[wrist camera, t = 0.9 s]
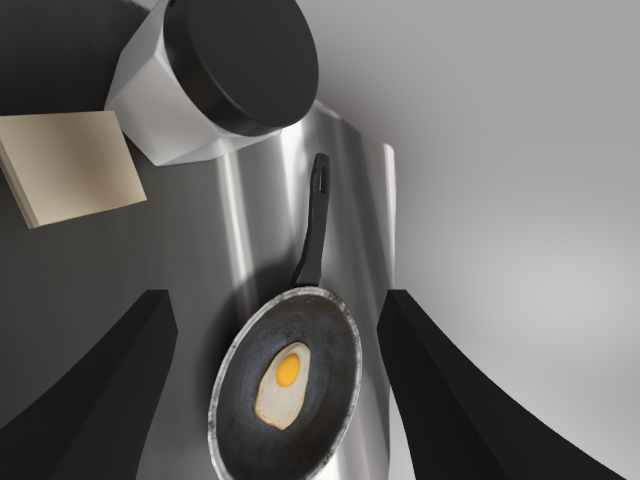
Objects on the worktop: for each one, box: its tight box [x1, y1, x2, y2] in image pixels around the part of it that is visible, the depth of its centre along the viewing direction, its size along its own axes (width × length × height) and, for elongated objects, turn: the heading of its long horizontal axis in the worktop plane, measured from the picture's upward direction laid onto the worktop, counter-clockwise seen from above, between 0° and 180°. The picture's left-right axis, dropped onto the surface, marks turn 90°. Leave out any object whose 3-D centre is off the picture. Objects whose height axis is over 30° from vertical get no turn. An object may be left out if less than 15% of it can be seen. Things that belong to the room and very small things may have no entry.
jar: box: [104, 0, 319, 166], centre depth 20 cm, size 9×8×12 cm
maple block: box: [0, 111, 147, 229], centre depth 18 cm, size 5×5×5 cm
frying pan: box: [208, 153, 362, 480], centre depth 32 cm, size 19×32×4 cm, turn 171°
